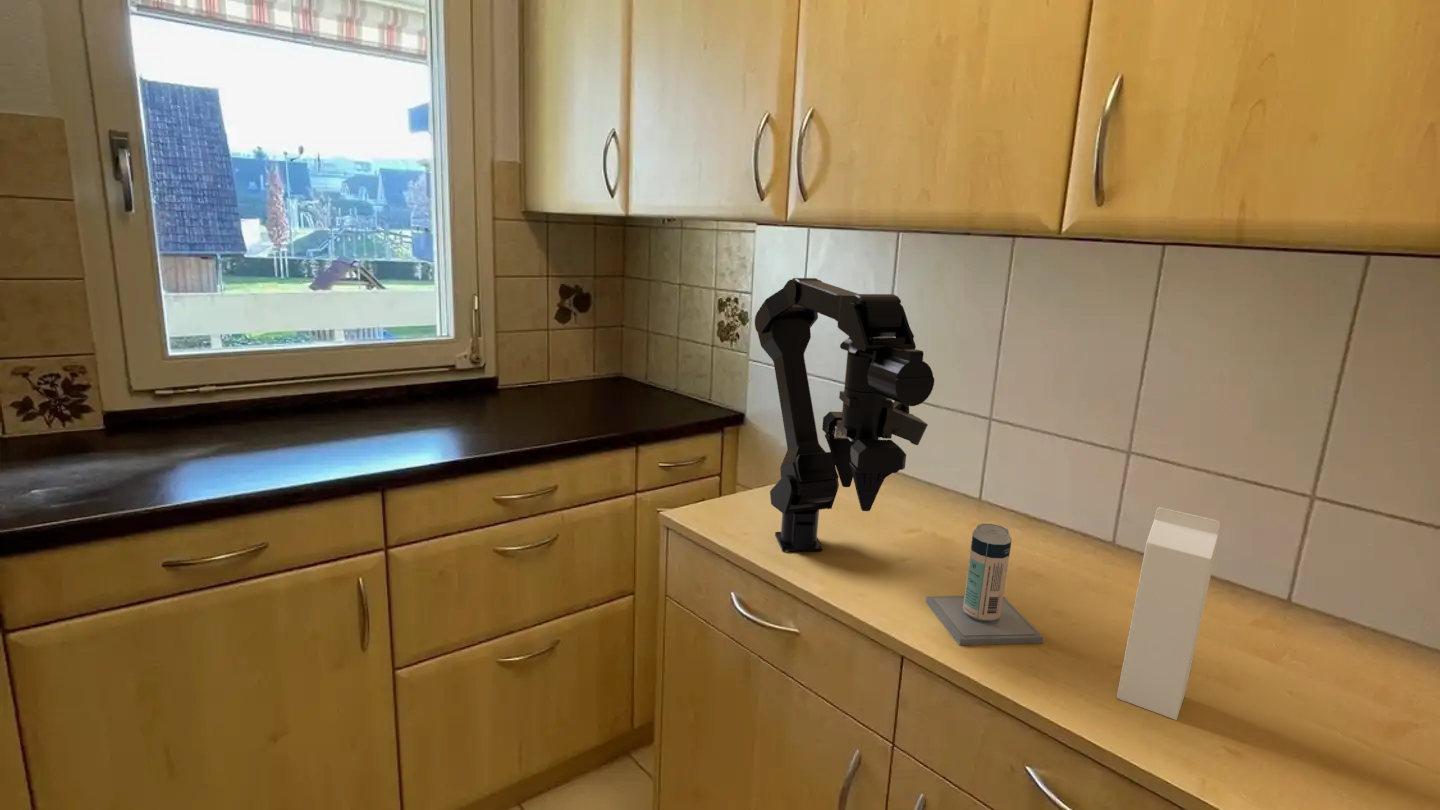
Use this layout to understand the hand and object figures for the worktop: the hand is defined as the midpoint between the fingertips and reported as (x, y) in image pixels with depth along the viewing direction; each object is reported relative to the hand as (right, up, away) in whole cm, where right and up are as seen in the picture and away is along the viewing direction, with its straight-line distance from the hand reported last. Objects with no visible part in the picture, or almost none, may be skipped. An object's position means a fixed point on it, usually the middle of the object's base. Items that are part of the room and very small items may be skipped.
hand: (855, 498), depth 107 cm
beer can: (+15, -15, -5) cm, 22 cm away
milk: (+30, -20, -20) cm, 41 cm away
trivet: (+16, -16, -5) cm, 23 cm away
